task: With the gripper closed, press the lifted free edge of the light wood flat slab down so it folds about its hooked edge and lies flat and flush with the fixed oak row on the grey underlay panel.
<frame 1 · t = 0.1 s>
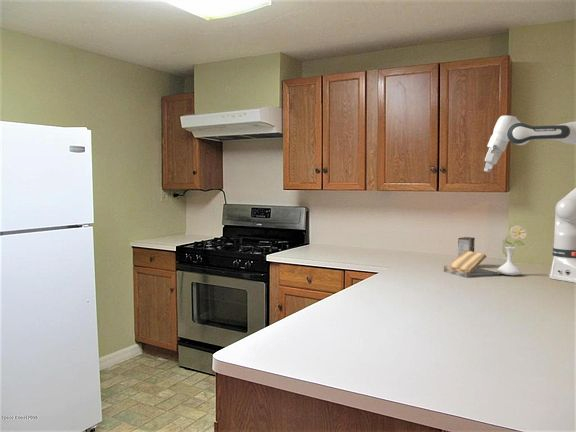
hand: (486, 171, 246), 52 cm above the worktop, tool tilted 20°, fingers open, 8 cm apart
flower in vase: (510, 275, 237), on the worktop
underlay panel: (470, 273, 240), on the worktop
light wood flat slab: (467, 261, 239), point 6 cm above the worktop, hinge at 40.0°
coffee box: (465, 267, 260), on the worktop
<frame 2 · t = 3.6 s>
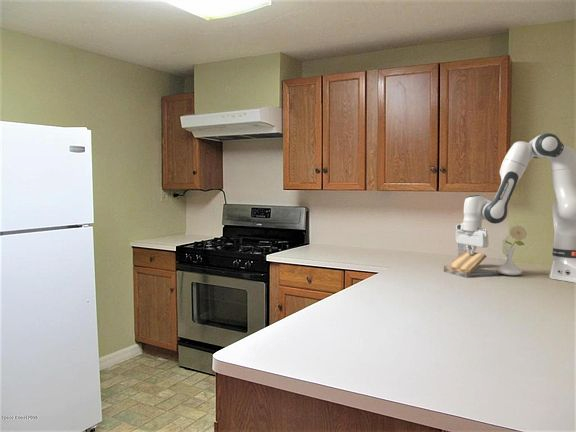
hand: (471, 254, 239), 10 cm above the worktop, tool pointing down, fingers closed, pressing on light wood flat slab
light wood flat slab: (467, 261, 239), point 6 cm above the worktop, hinge at 40.0°, touching gripper
everything else where it was.
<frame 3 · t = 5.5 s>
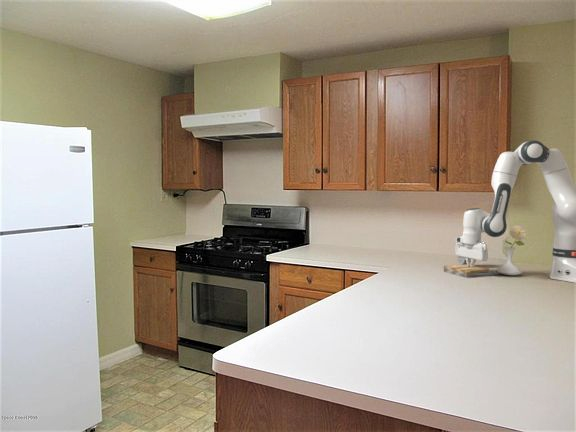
hand: (470, 266, 240), 3 cm above the worktop, tool pointing down, fingers closed, pressing on light wood flat slab
light wood flat slab: (468, 268, 239), point 2 cm above the worktop, hinge at 1.6°, touching gripper
everything else where it was.
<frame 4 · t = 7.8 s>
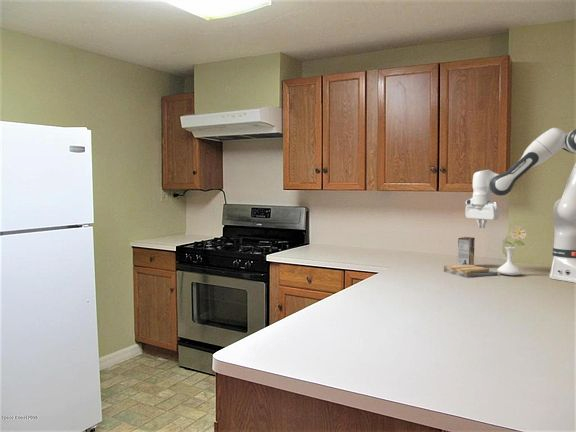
hand: (481, 228, 243), 23 cm above the worktop, tool pointing down, fingers closed
light wood flat slab: (468, 268, 239), point 2 cm above the worktop, hinge at 1.6°
everything else where it was.
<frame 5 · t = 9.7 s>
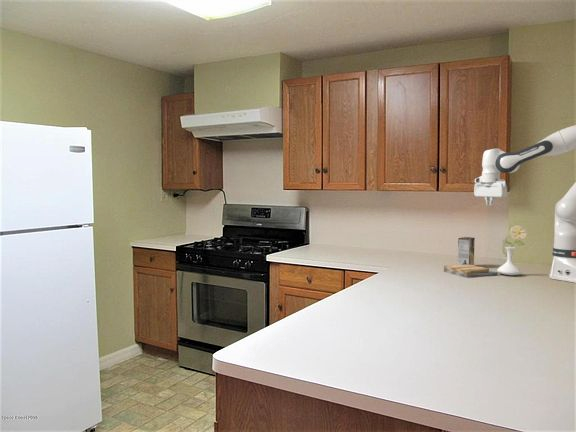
hand: (489, 205, 250), 34 cm above the worktop, tool pointing down, fingers closed
nothing on the worktop moved.
at the end: light wood flat slab at +2° (first picture: +40°) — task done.
